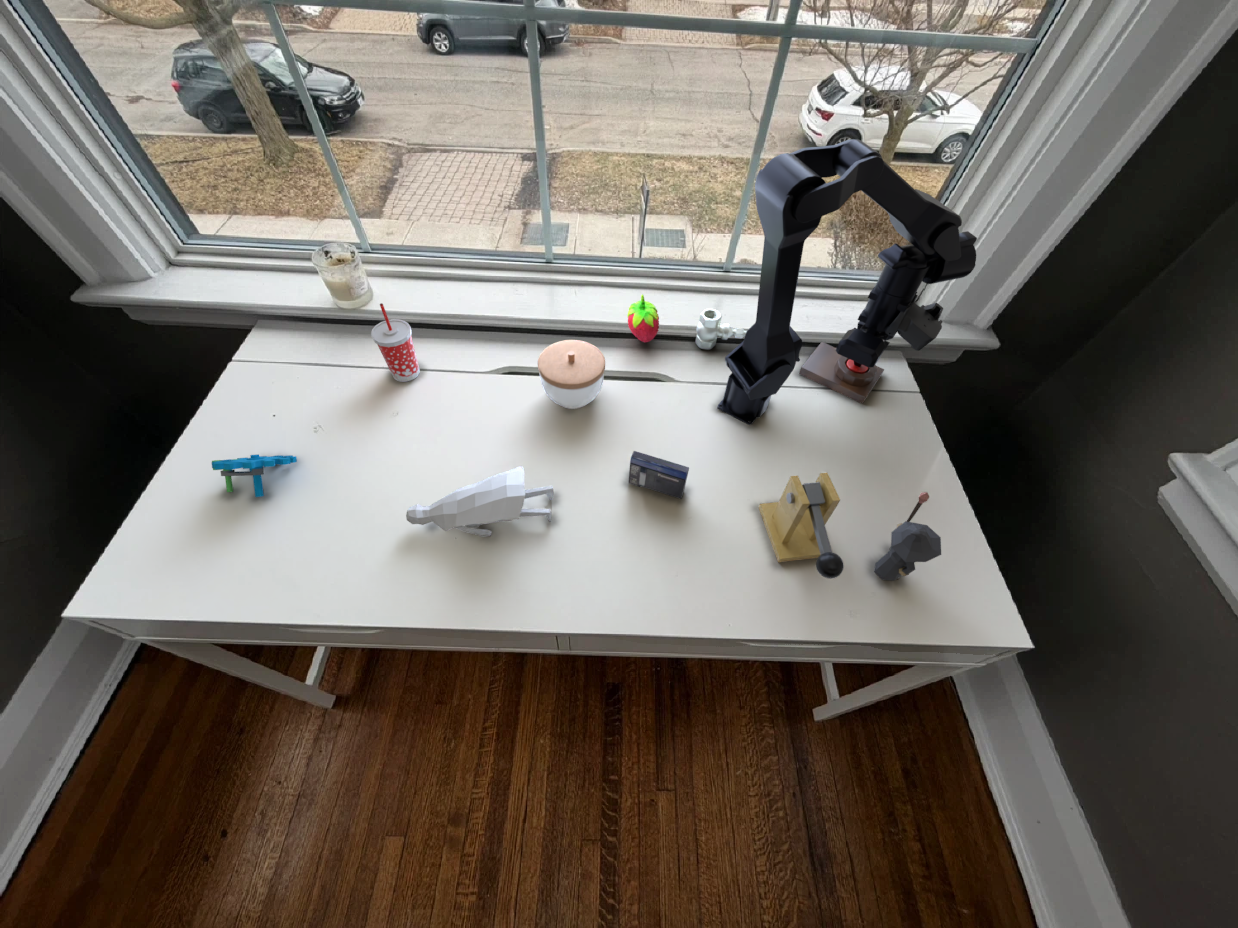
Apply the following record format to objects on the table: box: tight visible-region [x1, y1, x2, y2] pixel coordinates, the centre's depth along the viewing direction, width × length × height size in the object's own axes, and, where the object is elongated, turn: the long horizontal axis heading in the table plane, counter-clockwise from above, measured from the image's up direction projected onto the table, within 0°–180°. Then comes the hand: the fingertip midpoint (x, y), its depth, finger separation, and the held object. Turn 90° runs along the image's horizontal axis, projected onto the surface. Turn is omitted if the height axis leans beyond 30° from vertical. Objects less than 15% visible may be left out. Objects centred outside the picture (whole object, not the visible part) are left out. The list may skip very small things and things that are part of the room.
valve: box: [695, 308, 747, 351], centre depth 99 cm, size 7×7×12 cm
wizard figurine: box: [873, 491, 942, 581], centre depth 70 cm, size 8×6×12 cm
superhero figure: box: [405, 465, 554, 537], centre depth 74 cm, size 10×9×20 cm
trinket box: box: [537, 339, 606, 410], centre depth 89 cm, size 11×11×9 cm
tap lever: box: [802, 481, 845, 579], centre depth 69 cm, size 12×3×3 cm, turn 8°
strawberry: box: [626, 294, 660, 343], centre depth 98 cm, size 6×7×10 cm
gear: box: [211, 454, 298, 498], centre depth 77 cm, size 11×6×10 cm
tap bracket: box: [758, 472, 841, 563], centre depth 73 cm, size 9×7×11 cm
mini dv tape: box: [628, 450, 690, 500], centre depth 79 cm, size 8×2×6 cm, turn 70°
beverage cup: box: [370, 303, 421, 383], centre depth 89 cm, size 6×6×14 cm
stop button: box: [846, 359, 868, 374], centre depth 95 cm, size 4×4×2 cm
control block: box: [798, 341, 885, 405], centre depth 97 cm, size 12×9×4 cm
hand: (857, 364), depth 95 cm, fingers closed, pressing on stop button
